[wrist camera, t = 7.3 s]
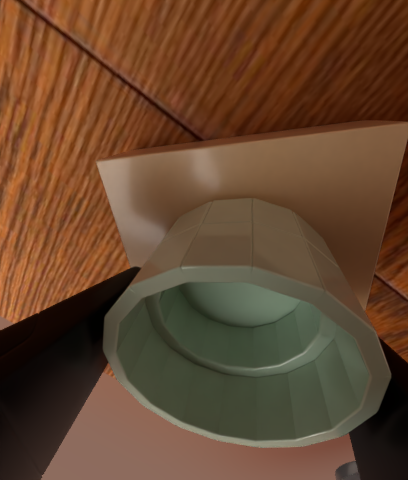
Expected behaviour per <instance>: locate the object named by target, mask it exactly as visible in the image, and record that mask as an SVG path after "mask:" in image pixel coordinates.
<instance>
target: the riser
mask: <svg viewBox="0 0 408 480" xmlns="http://www.w3.org/2000/svg"><path fill="white" fill-rule="evenodd" d="M407 140H408V122H403V121H379V120H361V121H353V122H345V123H338V124H330V125H322V126H314V127H307V128H299V129H291V130H283V131H275V132H268V133H260V134H252V135H244V136H237V137H229V138H221V139H213V140H206V141H198V142H190V143H182V144H175V145H167V146H159V147H151V148H143V149H136V150H130V151H127V152H123V153H120V154H116V155H113V156H109V157H106V158H102V159H99V160H97V161H96V164H97V167H98V170H99V173H100V176H101V179H102V182H103V185H104V188H105V191H106V194H107V197H108V201H109V204H110V207H111V210H112V213H113V216H114V219H115V222H116V225H117V228H118V231H119V234H120V237H121V240H122V243H123V246H124V249H125V252H126V255H127V258H128V261H129V264H130V267H131V268H132V267H134V266H138V267H141V266H142V265H143V263H144V262H145V261H146V259H147V258H148V257H149V255H150V254H151V253H152V251H153V250H154V249H155V247H156V246H157V245H158V243H159V242H160V240H161V239H162V238H163V237H164V235H165V234H166V233H167V232H168V230H169V229H170V228H171V227H172V225H173V224H174V223H175V221H176V220H177V219H178V218H179V217H181V216H182V215H184V214H186V213H188V212H190V211H192V210H194V209H196V208H198V207H200V206H202V205H204V204H206V203H208V202H212V201H214V200H227V199H242V198H252V199H253V198H256V199H259V200H262V201H265V202H268V203H271V204H274V205H277V206H281V207H284V208H287V209H290V210H292V212H295V213H296V214H297V215H298V216H300V217H301V218H302V219H303V220H304V221H305V222H306V223H308V224H309V225H310V226H311V227H312V228H313V229H314V230H316V231H317V232H318V233H319V234H320V235H321V237H322V238H323V239H324V241H325V243H326V244H327V246H328V248H329V250H330V251H331V253H332V255H333V257H334V258H335V260H336V262H337V264H338V265H339V267H340V269H341V271H342V272H343V274H344V276H345V278H346V279H347V281H348V283H349V285H350V286H351V288H352V290H353V292H354V293H355V295H356V297H357V299H358V300H359V302H360V304H361V306H362V308H363V309H364V311H365V309H366V305H367V301H368V297H369V293H370V289H371V285H372V281H373V277H374V273H375V269H376V265H377V261H378V257H379V253H380V249H381V245H382V241H383V237H384V233H385V229H386V225H387V221H388V217H389V213H390V208H391V204H392V200H393V196H394V192H395V188H396V184H397V180H398V176H399V172H400V168H401V164H402V160H403V156H404V152H405V148H406V144H407Z"/></svg>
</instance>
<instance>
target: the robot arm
mask: <svg viewBox="0 0 408 480" xmlns="http://www.w3.org/2000/svg"><path fill="white" fill-rule="evenodd" d="M140 268H141V267H138V266H134V267H132V268H130V269H127V270H125V271H123V272H121V273H119V274H117V275H115V276H113V277H111V278H109V279H107V280H105V281H103V282H101V283H99V284H96V285H94V286H92V287H90V288H88V289H86V290H84V291H82V292H80V293H78V294H76V295H74V296H72V297H70V298H68V299H65V300H63V301H61V302H59V303H57V304H55V305H53V306H51V307H49V308H47V309H45V310H43V311H41V312H40V313H39V314H38V313H36V314H34V315H32V316H30V317H28V318H26V319H24V320H22V321H20V322H18V323H15V324H13V325H11V326H9V327H7V328H5V329H3V330H0V480H41V478H42V475H43V474H44V472H45V471H46V469H47V467H48V466H49V464H50V462H51V460H52V459H53V457H54V455H55V453H56V452H57V450H58V448H59V446H60V445H61V443H62V441H63V439H64V438H65V436H66V434H67V433H68V431H69V429H70V428H71V426H72V424H73V422H74V421H75V419H76V417H77V415H78V414H79V412H80V410H81V409H82V407H83V405H84V403H85V402H86V400H87V398H88V397H89V395H90V393H91V391H92V389H93V388H94V386H95V385H96V383H97V381H98V379H99V378H100V376H101V374H102V373H103V371H104V369H105V367H106V366H107V364H108V360H107V358H106V356H105V354H104V352H103V332H104V317H105V315H106V313H107V312H108V311H109V309H110V308H111V307H112V305H113V304H114V303H115V301H116V300H117V299H118V297H119V296H120V295H121V293H122V292H123V290H124V289H125V288H126V286H127V285H128V284H129V282H130V281H131V280H132V278H133V277H134V276H135V274H136V273H137V272H138V270H139V269H140ZM378 338H379V337H378ZM379 341H380V343H381V346H382V349H383V352H384V354H385V357H386V360H387V363H388V365H389V368H390V371H391V380H390V382H389V385H388V387H387V390H386V393H385V395H384V398H383V400H382V403H381V405H380V408H379V411H377V413H376V414H375V415H373V416H372V417H370V418H369V419H368V420H366V421H365V422H363V423H362V424H361V425H359V426H358V427H356V428H355V429H354V430H352V431H351V432H349V435H350V439H351V443H352V447H353V451H354V456H355V460H356V464H357V468H358V472H359V476H360V480H408V363H407V362H406V361H405V360H404V359H403V358H402V357H400V356H399V355H398V354H397V353H396V352H395V351H394V350H393V349H392V348H390V347H389V346H388V345H387V344H386V343H385V342H384V341H383V340H381V339H380V338H379Z"/></svg>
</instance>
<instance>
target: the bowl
mask: <svg viewBox="0 0 408 480" xmlns="http://www.w3.org/2000/svg"><path fill="white" fill-rule="evenodd" d="M103 352H104V354H105V356H106V358H107V360H108V362H109V364H110V367H111V369H112V371H113V373H114V375H115V377H116V379H117V380H118V382H119V383H121V385H122V386H124V387H125V388H126V389H127V390H128V391H129V392H130V393H131V394H132V395H133V396H134V397H135V398H136V399H137V400H138V401H139V402H140V403H141V404H142V405H143V406H144V407H146V408H148V409H149V410H151V411H153V412H154V413H156V414H158V415H159V416H161V417H163V418H164V419H166V420H168V421H169V422H171V423H173V424H174V425H176V426H178V427H181V428H184V429H187V430H189V431H192V432H195V433H197V434H200V435H203V436H206V437H209V438H212V439H214V440H218V441H223V442H229V443H235V444H241V445H246V446H252V447H261V448H267V447H302V446H308V445H312V444H315V443H319V442H323V441H326V440H330V439H334V438H337V437H341V436H344V435H346V434H348V433H349V432H351V431H352V430H354V429H355V428H356V427H358V426H359V425H361V424H362V423H363V422H365V421H366V420H368V419H369V418H370V417H372V416H373V415H375V414H376V413H377V411H379V408H380V405H381V403H382V400H383V398H384V395H385V393H386V390H387V387H388V385H389V382H390V380H391V371H390V368H389V365H388V363H387V360H386V357H385V354H384V352H383V349H382V346H381V343H380V341H379V338H378V335H377V332H376V330H375V329H374V327H373V325H372V323H371V322H370V320H369V318H368V316H367V315H366V313H365V311H364V309H363V308H362V306H361V304H360V302H359V300H358V299H357V297H356V295H355V293H354V292H353V290H352V288H351V286H350V285H349V283H348V281H347V279H346V278H345V276H344V274H343V272H342V271H341V269H340V267H339V265H338V264H337V262H336V260H335V258H334V257H333V255H332V253H331V251H330V250H329V248H328V246H327V244H326V243H325V241H324V239H323V238H322V237H321V235H320V234H319V233H318V232H317V231H316V230H314V229H313V228H312V227H311V226H310V225H309V224H308V223H306V222H305V221H304V220H303V219H302V218H301V217H300V216H298V215H297V214H296V213H295V212H292V210H290V209H287V208H284V207H281V206H277V205H274V204H271V203H268V202H265V201H262V200H259V199H256V198H253V199H252V198H242V199H227V200H214V201H212V202H208V203H206V204H204V205H202V206H200V207H198V208H196V209H194V210H192V211H190V212H188V213H186V214H184V215H182V216H181V217H179V218H178V219H177V220H176V221H175V223H174V224H173V225H172V227H171V228H170V229H169V230H168V232H167V233H166V234H165V235H164V237H163V238H162V239H161V240H160V242H159V243H158V245H157V246H156V247H155V249H154V250H153V251H152V253H151V254H150V255H149V257H148V258H147V259H146V261H145V262H144V263H143V265H142V266H141V268H140V269H139V270H138V272H137V273H136V274H135V276H134V277H133V278H132V280H131V281H130V282H129V284H128V285H127V286H126V288H125V289H124V290H123V292H122V293H121V295H120V296H119V297H118V299H117V300H116V301H115V303H114V304H113V305H112V307H111V308H110V309H109V311H108V312H107V313H106V315H105V317H104V332H103Z"/></svg>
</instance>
